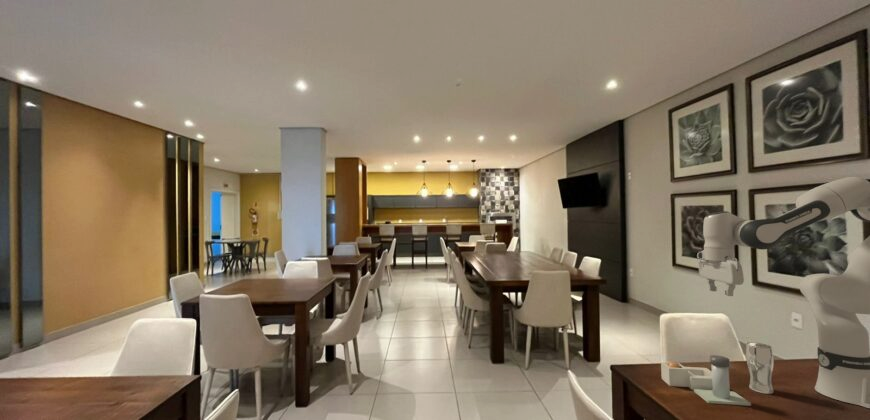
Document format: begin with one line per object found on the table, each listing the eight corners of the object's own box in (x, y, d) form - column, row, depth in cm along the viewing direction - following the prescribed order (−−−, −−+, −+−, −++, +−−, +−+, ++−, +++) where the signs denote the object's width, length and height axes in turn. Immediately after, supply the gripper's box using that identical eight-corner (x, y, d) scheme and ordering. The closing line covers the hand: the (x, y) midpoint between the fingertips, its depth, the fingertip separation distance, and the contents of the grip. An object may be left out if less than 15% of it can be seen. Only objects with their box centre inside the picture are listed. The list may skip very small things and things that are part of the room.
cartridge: (724, 392, 118) (722, 355, 118) (735, 399, 113) (733, 361, 114) (708, 391, 118) (706, 354, 119) (717, 398, 114) (715, 360, 114)
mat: (733, 393, 119) (733, 391, 119) (751, 405, 111) (750, 403, 111) (694, 391, 121) (694, 389, 121) (708, 403, 113) (708, 400, 113)
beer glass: (780, 395, 117) (778, 349, 118) (756, 393, 119) (754, 347, 119) (765, 386, 124) (763, 342, 125) (742, 384, 125) (740, 341, 126)
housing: (706, 379, 130) (705, 362, 131) (724, 391, 120) (723, 373, 121) (659, 376, 133) (658, 360, 133) (672, 388, 123) (671, 370, 123)
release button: (677, 373, 129) (676, 362, 129) (681, 376, 126) (681, 365, 126) (667, 372, 129) (666, 361, 130) (671, 376, 126) (671, 364, 126)
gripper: (748, 258, 121) (750, 299, 120) (712, 253, 141) (713, 288, 140) (727, 257, 122) (729, 298, 121) (694, 253, 142) (695, 288, 141)
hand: (720, 293), depth 131 cm, fingers open, 8 cm apart
